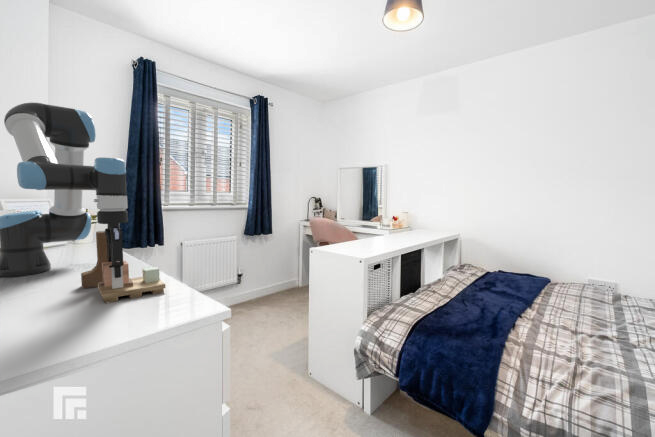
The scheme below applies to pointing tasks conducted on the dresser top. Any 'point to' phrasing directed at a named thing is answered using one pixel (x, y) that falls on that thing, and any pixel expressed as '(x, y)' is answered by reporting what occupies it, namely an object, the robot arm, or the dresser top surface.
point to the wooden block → (95, 274)
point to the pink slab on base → (108, 277)
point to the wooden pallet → (133, 290)
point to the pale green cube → (150, 274)
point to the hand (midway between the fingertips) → (116, 285)
